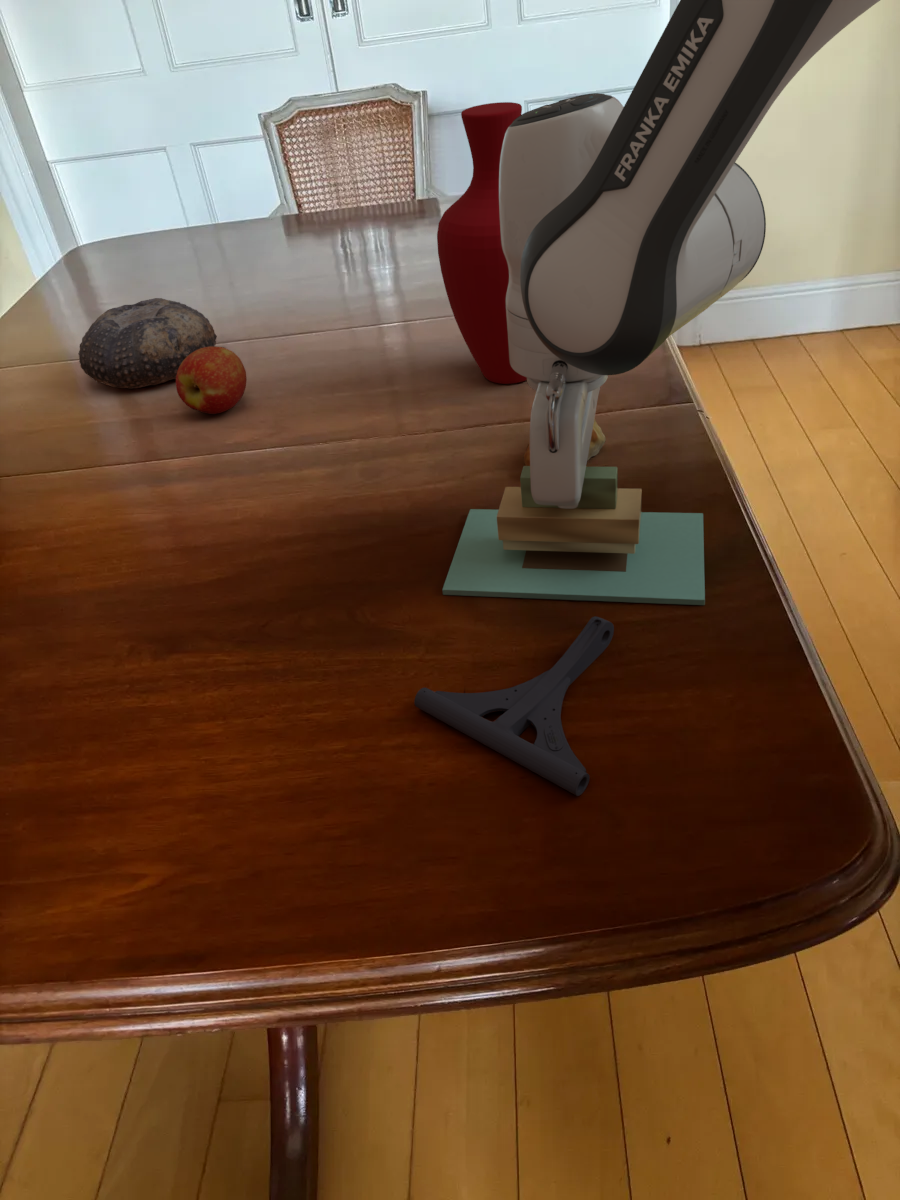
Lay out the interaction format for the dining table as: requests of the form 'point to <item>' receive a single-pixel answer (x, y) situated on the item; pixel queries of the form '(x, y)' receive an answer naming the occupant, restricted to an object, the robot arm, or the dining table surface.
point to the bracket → (527, 712)
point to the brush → (573, 517)
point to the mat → (584, 565)
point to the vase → (480, 246)
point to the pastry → (594, 448)
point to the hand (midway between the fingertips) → (570, 493)
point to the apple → (211, 380)
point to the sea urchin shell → (143, 342)
